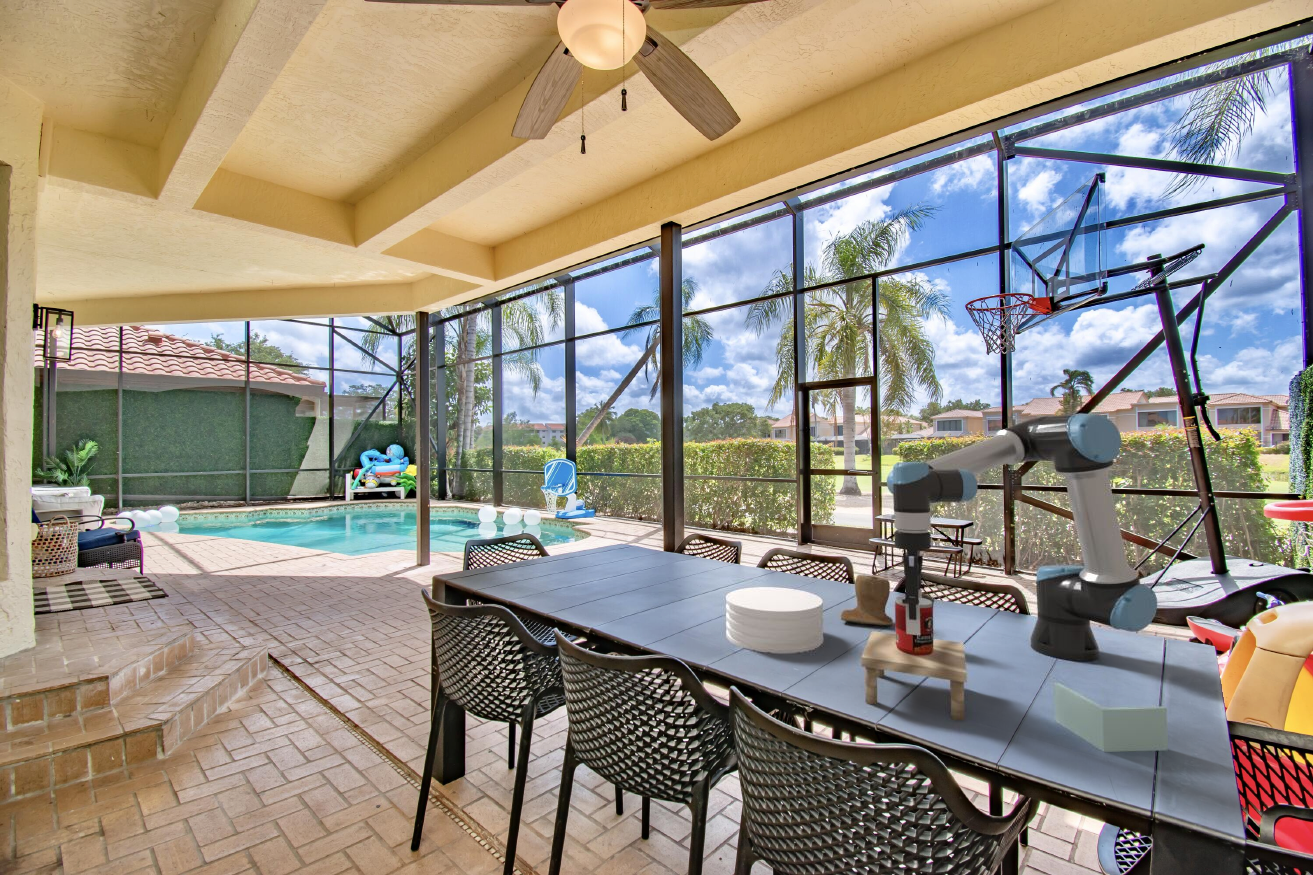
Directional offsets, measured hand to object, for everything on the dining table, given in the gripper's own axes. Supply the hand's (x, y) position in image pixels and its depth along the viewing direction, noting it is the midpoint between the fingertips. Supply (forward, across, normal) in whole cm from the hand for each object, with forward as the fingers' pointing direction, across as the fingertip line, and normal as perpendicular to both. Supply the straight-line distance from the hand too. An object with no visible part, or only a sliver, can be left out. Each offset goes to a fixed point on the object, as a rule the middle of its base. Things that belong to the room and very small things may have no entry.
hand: (914, 625), depth 128 cm
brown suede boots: (+16, -53, -16) cm, 57 cm away
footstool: (+15, 0, 0) cm, 15 cm away
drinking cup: (+16, -35, 0) cm, 38 cm away
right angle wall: (+16, +4, +34) cm, 37 cm away
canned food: (+6, 0, 0) cm, 6 cm away
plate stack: (+16, -26, -39) cm, 50 cm away
